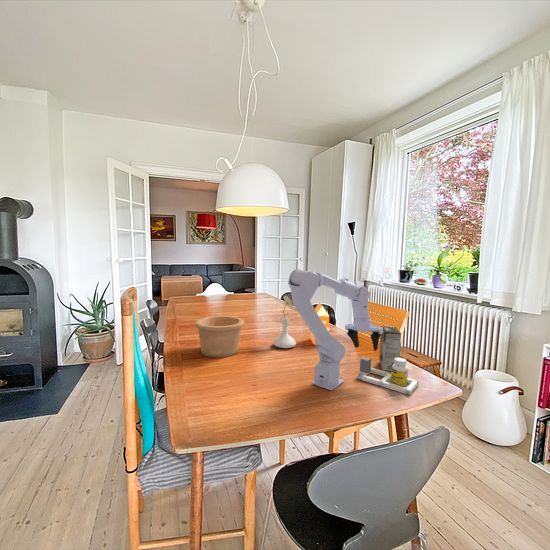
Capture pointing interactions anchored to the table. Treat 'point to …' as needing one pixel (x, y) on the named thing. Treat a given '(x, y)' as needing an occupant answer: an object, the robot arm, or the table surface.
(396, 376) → the supplement bottle
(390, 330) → the coffee box
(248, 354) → the table surface
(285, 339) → the flower in vase
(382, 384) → the slotted grey tray
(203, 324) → the pottery
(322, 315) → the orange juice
